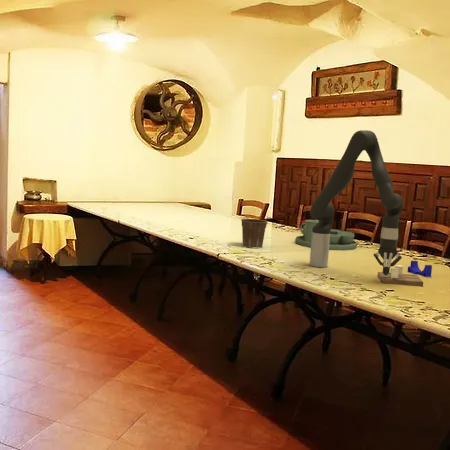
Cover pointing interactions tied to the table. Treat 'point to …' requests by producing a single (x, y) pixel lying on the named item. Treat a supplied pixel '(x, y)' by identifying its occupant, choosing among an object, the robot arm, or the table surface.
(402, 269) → the tab
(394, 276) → the tab
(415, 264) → the cable clip
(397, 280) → the switch board
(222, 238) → the table surface
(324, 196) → the robot arm
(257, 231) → the plant pot
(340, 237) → the green tea tray
